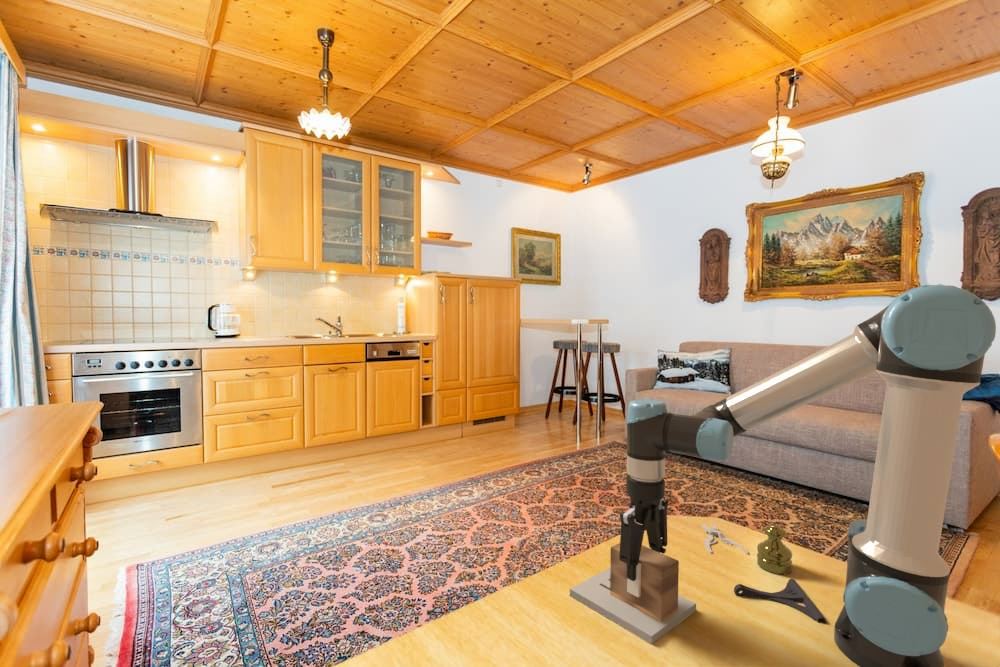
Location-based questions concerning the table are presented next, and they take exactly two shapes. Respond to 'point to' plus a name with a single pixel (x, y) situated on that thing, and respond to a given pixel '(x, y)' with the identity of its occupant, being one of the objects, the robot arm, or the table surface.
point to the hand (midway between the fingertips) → (643, 587)
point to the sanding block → (648, 582)
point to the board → (627, 608)
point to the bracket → (784, 598)
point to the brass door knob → (774, 551)
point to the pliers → (715, 532)
